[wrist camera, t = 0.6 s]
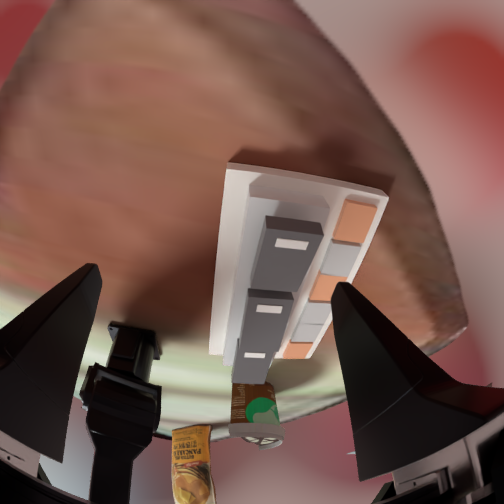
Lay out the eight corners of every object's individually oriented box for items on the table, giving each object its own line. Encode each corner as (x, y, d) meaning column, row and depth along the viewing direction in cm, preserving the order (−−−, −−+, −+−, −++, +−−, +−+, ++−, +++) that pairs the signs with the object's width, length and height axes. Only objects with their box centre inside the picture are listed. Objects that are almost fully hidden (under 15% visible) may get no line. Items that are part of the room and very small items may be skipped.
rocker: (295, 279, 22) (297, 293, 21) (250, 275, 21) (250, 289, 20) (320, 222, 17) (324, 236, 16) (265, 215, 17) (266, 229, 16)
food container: (289, 395, 44) (295, 445, 36) (257, 402, 46) (260, 450, 38) (266, 368, 37) (271, 431, 29) (228, 376, 39) (228, 436, 31)
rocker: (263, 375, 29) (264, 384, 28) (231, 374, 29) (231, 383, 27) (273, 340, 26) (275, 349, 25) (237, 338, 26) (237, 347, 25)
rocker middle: (276, 342, 25) (278, 352, 24) (238, 340, 24) (239, 350, 23) (291, 291, 22) (294, 300, 21) (247, 287, 22) (248, 297, 21)
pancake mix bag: (228, 427, 56) (229, 529, 34) (182, 436, 63) (179, 520, 41) (206, 421, 53) (205, 530, 31) (163, 430, 60) (157, 518, 38)
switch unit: (307, 349, 35) (312, 374, 31) (209, 344, 33) (207, 371, 30) (381, 189, 21) (403, 212, 18) (227, 162, 20) (224, 182, 16)
